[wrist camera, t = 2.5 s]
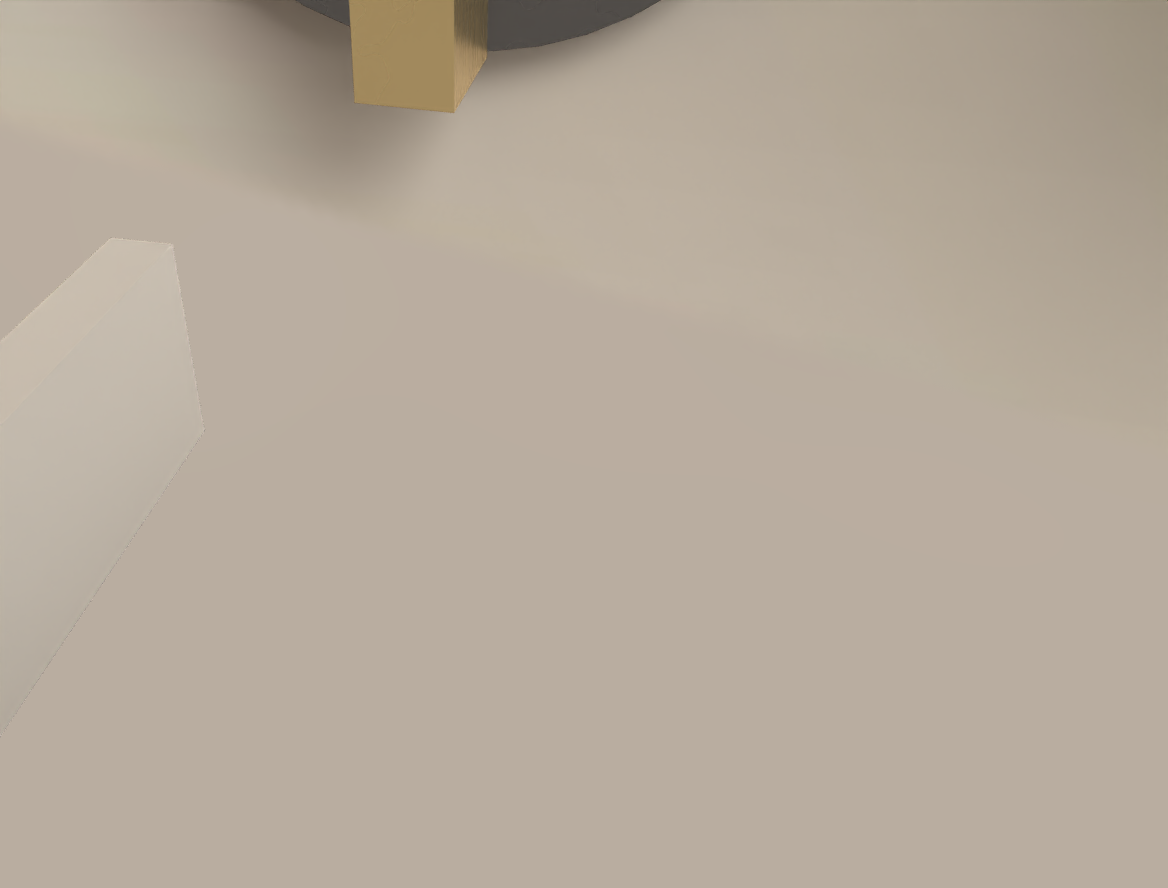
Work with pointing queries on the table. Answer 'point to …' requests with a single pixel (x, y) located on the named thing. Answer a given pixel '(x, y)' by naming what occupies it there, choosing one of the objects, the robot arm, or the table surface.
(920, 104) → the table surface
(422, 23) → the brass disc with pegs
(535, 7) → the cap plate
